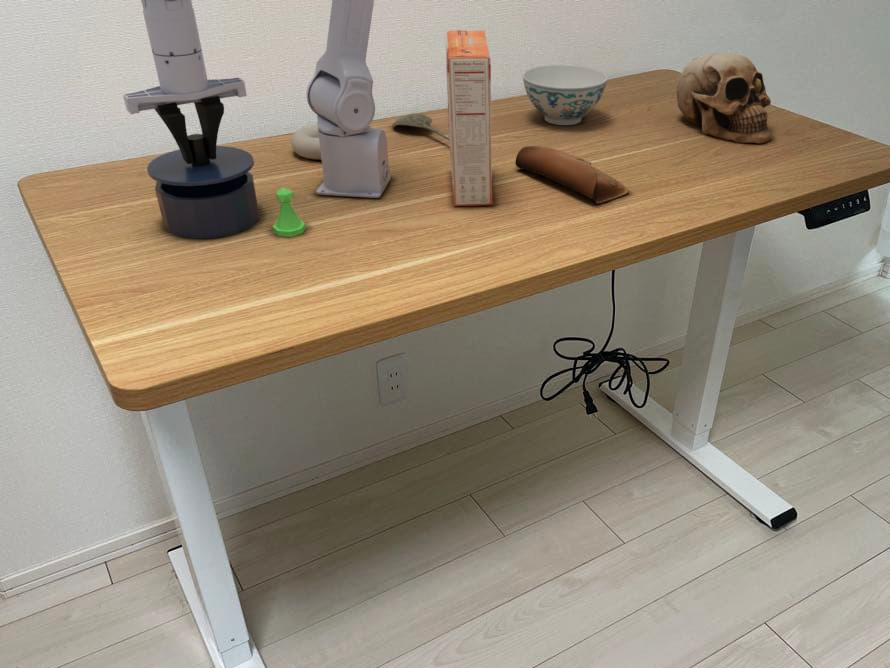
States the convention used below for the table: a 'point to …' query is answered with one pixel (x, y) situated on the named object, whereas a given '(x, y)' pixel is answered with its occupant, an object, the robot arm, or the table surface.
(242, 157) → the pan lid
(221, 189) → the pan
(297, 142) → the donut
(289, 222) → the game piece
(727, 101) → the beige skull model
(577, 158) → the sunglasses case
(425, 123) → the soupspoon
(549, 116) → the chinaware
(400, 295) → the table surface
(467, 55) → the cracker box
